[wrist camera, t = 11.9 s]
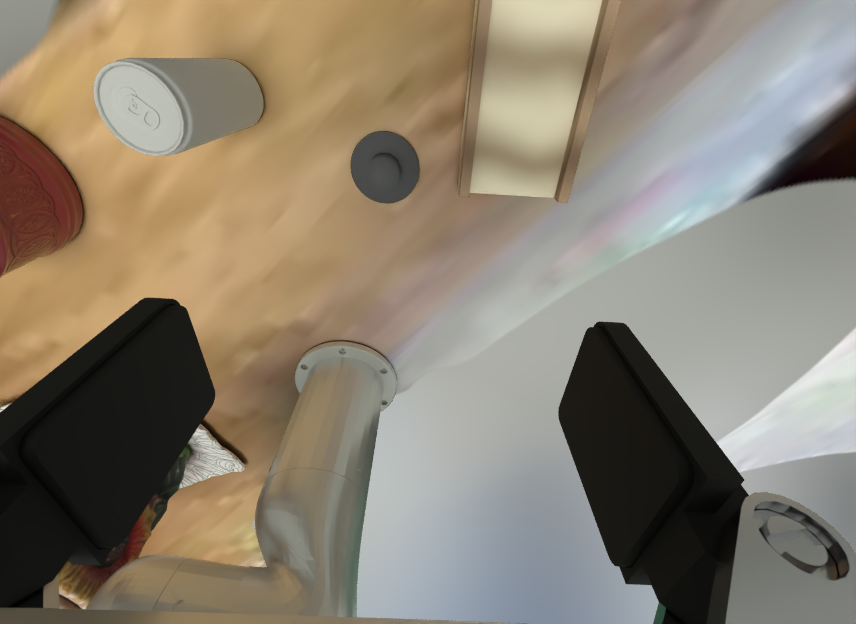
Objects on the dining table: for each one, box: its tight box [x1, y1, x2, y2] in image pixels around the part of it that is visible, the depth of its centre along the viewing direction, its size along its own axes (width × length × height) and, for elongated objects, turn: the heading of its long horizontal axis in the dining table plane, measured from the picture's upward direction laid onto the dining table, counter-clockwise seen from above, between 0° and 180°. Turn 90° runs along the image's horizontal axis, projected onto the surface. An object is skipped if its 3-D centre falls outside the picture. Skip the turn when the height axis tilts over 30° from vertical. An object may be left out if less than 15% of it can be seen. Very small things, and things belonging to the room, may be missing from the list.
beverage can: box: [93, 58, 264, 156], centre depth 25 cm, size 5×5×12 cm
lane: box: [457, 0, 621, 203], centre depth 28 cm, size 18×9×4 cm, turn 177°
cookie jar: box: [0, 402, 245, 609], centre depth 41 cm, size 25×25×32 cm
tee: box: [351, 131, 419, 203], centre depth 32 cm, size 6×6×3 cm
